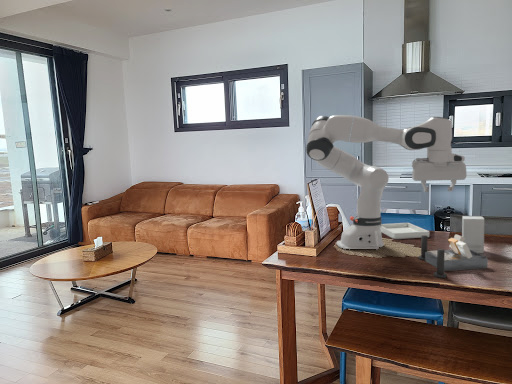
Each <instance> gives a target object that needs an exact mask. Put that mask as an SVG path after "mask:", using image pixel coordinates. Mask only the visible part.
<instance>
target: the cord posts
mask: <svg viewBox="0 0 512 384" xmlns="http://www.w3.org/2000/svg"><path fill="white" fill-rule="evenodd" d="M428 238H429V237H428V236H426V235H422V236H421V238H420V239H421V240H420V243H421V245H420V247H421V249H420V255H418V257H417V258H418V260H420V261H425V252H426V251H428V244H429V243H428V242H429V241H428ZM445 250H446V249H443V248H437V250H436V251H437V267H436V271H435V272H433V277H435V278H438V279H446V278H447V277H448V274H447V273H446V272H445V271H444V254H445Z"/></svg>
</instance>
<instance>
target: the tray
mask: <svg viewBox="0 0 512 384" xmlns="http://www.w3.org/2000/svg"><path fill="white" fill-rule="evenodd" d="M381 234H384V235H386V236H387V237H390V238H391V239H393V240H402V239H415V238H416V239H417V238H418V239H421V236H422V235H426V236H428V238H430V231H429V230H427V229H424V228H422V227H420V226H417V225H415V224H412V223H410V222H399V223H398V222H397V223H395V222H394V223H382V224H381Z"/></svg>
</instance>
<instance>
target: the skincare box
mask: <svg viewBox="0 0 512 384" xmlns="http://www.w3.org/2000/svg"><path fill="white" fill-rule="evenodd" d="M461 222H462V223H461V227H462V229H461V230H462V231H461V236H462V237H464V238H465V240H464V241H463V242H464V243H466V244H467V246H468V248H469V250H472V251H474V252H477V253H479V254H484V253H485V218H484V217H483V216H479V215H478V216H476V215H473V216H471V215H469V216H468V215H462V221H461Z"/></svg>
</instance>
